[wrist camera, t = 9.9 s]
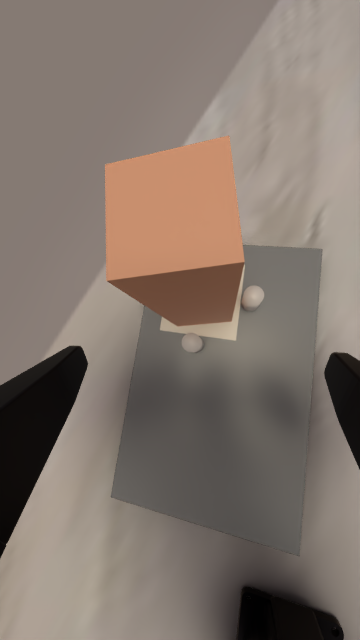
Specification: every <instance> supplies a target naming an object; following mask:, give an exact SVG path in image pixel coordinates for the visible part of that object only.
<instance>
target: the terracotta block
mask: <svg viewBox="0 0 360 640" xmlns="http://www.w3.org/2000/svg"><path fill="white" fill-rule="evenodd" d="M105 193H106V280H107V281H108V282H109V283H111V284H112V285H114V286H115V287H117V288H118V289H120V290H122V291H123V292H125V293H126V294H128V295H129V296H131V297H132V298H134V299H136V300H137V301H139V302H140V303H142V304H143V305H145V306H146V307H148V308H149V309H151V310H153V311H154V312H156V313H157V314H159V315H160V316H162V317H163V318H165V319H167V320H168V321H170V322H171V323H173V324H174V325H176V326H177V327H178V326H189V325H200V324H211V323H221V322H232V318H233V313H234V309H235V304H236V299H237V295H238V290H239V286H240V281H241V276H242V272H243V267H244V263H245V261H244V252H243V244H242V236H241V228H240V220H239V212H238V203H237V195H236V187H235V179H234V171H233V163H232V154H231V146H230V138H229V136H225V137H221V138H217V139H212V140H208V141H204V142H200V143H195V144H191V145H187V146H183V147H178V148H175V149H170V150H165V151H161V152H157V153H153V154H148V155H144V156H140V157H135V158H131V159H127V160H123V161H118V162H114V163H110V164H106V165H105Z"/></svg>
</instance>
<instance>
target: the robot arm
mask: <svg viewBox="0 0 360 640" xmlns="http://www.w3.org/2000/svg"><path fill="white" fill-rule="evenodd" d="M87 366H88V362H87V359H86V356H85V354H84V351H83V349H82V347H81V346H69V347H67V348H65V349H63V350H61V351H60V352H58V353H56V354H54V355H53V356H51V357H49V358H47V359H46V360H44V361H42V362H40V363H39V364H37V365H35V366H34V367H32V368H30V369H28V370H27V371H25V372H23V373H21V374H20V375H18V376H16V377H14V378H13V379H11V380H9V381H7V382H6V383H4V384H2V385H0V558H1V556H2V554H3V552H4V549H5V547H6V544H7V543H8V541H9V539H10V537H11V534H12V532H13V530H14V528H15V526H16V524H17V522H18V520H19V518H20V516H21V514H22V511H23V509H24V507H25V505H26V503H27V501H28V499H29V497H30V495H31V493H32V491H33V489H34V486H35V484H36V482H37V480H38V478H39V476H40V474H41V472H42V470H43V468H44V466H45V463H46V461H47V459H48V457H49V455H50V453H51V451H52V449H53V447H54V445H55V443H56V440H57V438H58V436H59V434H60V432H61V430H62V428H63V426H64V424H65V422H66V420H67V418H68V415H69V413H70V411H71V409H72V407H73V405H74V402H75V400H76V397H77V395H78V392H79V389H80V386H81V384H82V381H83V378H84V375H85V372H86V370H87ZM324 375H325V379H326V383H327V386H328V389H329V392H330V396H331V399H332V402H333V405H334V409H335V412H336V415H337V418H338V420H339V423H340V425H341V428H342V430H343V432H344V435H345V437H346V439H347V442H348V444H349V446H350V448H351V451H352V453H353V455H354V458H355V460H356V462H357V465H358V467H359V469H360V361H359V360H358V359H356V358H354V357H353V356H351V355H349V354H348V353H339V352H334V353H332V354H331V355H330V357H329V360H328V362H327V365H326V368H325V371H324ZM247 596H250V597H251V598H250V599H247V598H246V597H247ZM333 627H335V628H336V629H335V630H332V629H331V628H333ZM343 639H344V634H343V630H342V628H341V625H340V623H339V621H338V620H337V619H336V618H334V617H333V616H330V615H327V614H324V613H321V612H318V611H316V610H313V609H310V608H307V607H304V606H301V605H299V604H296V603H293V602H290V601H287V600H285V599H282V598H279V597H276V596H273V595H270V594H268V593H265V592H262V591H259V590H256V589H254V588H251V587H244V588H243V589H242V591H241V598H240V608H239V618H238V627H237V637H236V640H343Z"/></svg>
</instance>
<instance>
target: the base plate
mask: <svg viewBox="0 0 360 640" xmlns="http://www.w3.org/2000/svg"><path fill="white" fill-rule="evenodd" d="M243 252H244V261H245V263H244V267H243V272H242V276H241V281H240V286H239V290H238V295H237V299H236V304H235V309H234V313H233V318H232V322H221V323H211V324H200V325H189V326H178V327H177V326H176V325H174V324H173V323H171V322H170V321H168V320H167V319H165V318H163V317H162V316H160V315H159V314H157V313H156V312H154V311H153V310H151V309H149V308H148V307H146V306H145V305H144V311H143V316H142V322H141V328H140V333H139V339H138V345H137V350H136V356H135V362H134V367H133V373H132V379H131V384H130V390H129V396H128V402H127V407H126V413H125V419H124V424H123V430H122V436H121V441H120V447H119V453H118V458H117V464H116V470H115V475H114V481H113V487H112V492H111V497H112V498H115V499H118V500H121V501H124V502H128V503H131V504H134V505H137V506H140V507H144V508H147V509H150V510H153V511H156V512H159V513H163V514H166V515H169V516H172V517H175V518H179V519H182V520H185V521H188V522H191V523H195V524H198V525H201V526H204V527H207V528H211V529H214V530H217V531H220V532H223V533H226V534H230V535H233V536H236V537H239V538H242V539H246V540H249V541H252V542H255V543H258V544H262V545H265V546H268V547H271V548H274V549H278V550H281V551H284V552H287V553H290V554H293V555H297V556H299V555H300V541H301V528H302V515H303V501H304V488H305V475H306V461H307V448H308V435H309V422H310V408H311V395H312V382H313V368H314V355H315V342H316V328H317V315H318V302H319V288H320V275H321V262H322V249H312V248H293V247H274V246H255V245H243Z"/></svg>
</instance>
